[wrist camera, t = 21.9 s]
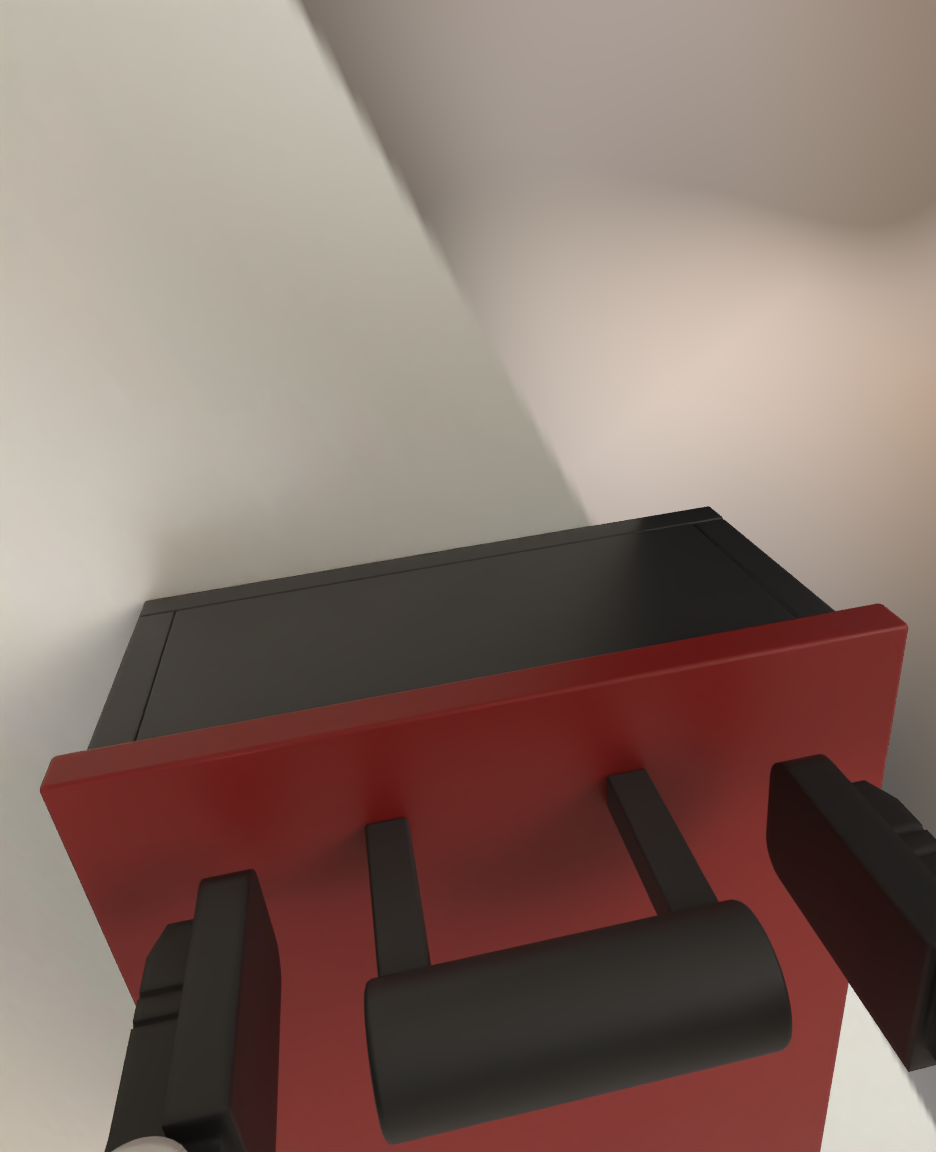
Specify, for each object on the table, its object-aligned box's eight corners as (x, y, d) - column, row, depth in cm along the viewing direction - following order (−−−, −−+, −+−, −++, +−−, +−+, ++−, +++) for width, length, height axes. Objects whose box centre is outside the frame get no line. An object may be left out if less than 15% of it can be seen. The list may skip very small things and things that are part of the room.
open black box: (144, 600, 19) (75, 775, 14) (709, 505, 21) (859, 627, 15) (283, 1041, 26) (276, 1277, 20) (699, 947, 28) (799, 1144, 22)
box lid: (51, 754, 13) (-99, 1111, 8) (880, 600, 14) (1169, 827, 9) (275, 1279, 20) (266, 1621, 16) (800, 1146, 22) (938, 1422, 17)
